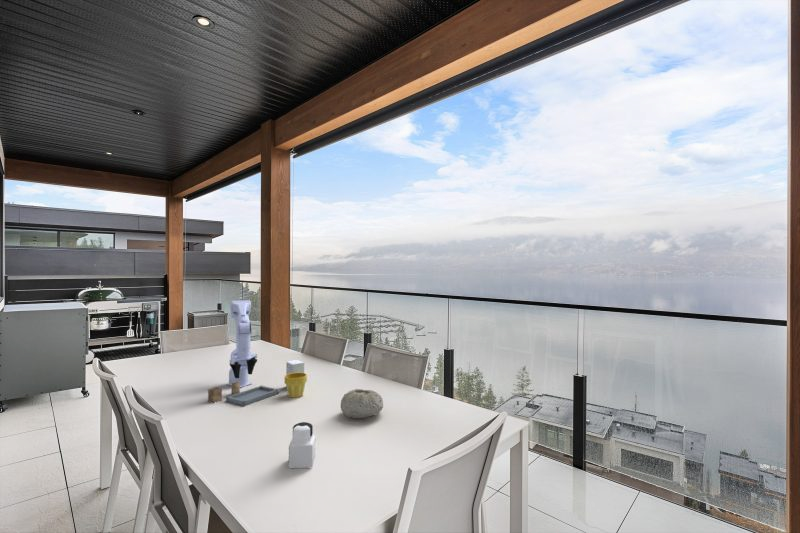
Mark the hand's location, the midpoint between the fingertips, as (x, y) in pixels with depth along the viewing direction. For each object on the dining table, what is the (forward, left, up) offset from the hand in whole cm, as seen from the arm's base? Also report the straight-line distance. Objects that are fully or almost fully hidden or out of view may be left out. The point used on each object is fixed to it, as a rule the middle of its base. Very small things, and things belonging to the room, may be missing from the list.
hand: (243, 376), depth 185 cm
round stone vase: (+64, +7, -9) cm, 65 cm away
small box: (+14, +20, -9) cm, 26 cm away
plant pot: (+23, +11, -9) cm, 27 cm away
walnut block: (-3, -13, -9) cm, 16 cm away
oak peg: (-3, -2, -9) cm, 9 cm away
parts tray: (+8, -1, -9) cm, 12 cm away
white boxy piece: (+70, -35, -9) cm, 79 cm away
